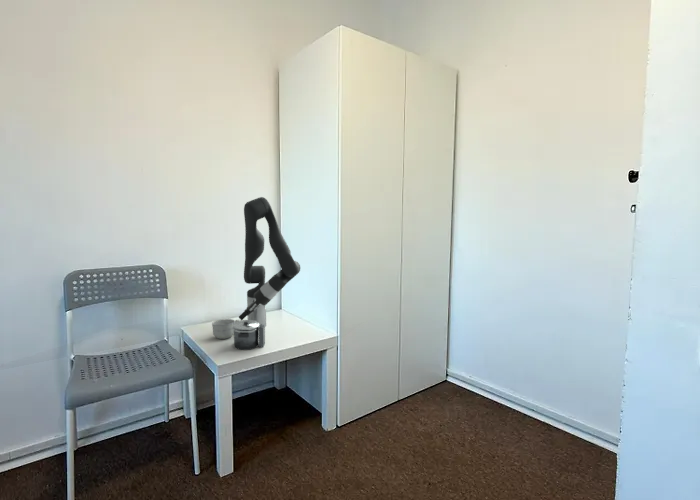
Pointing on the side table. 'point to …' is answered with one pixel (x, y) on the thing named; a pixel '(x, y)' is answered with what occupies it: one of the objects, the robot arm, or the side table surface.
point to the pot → (249, 338)
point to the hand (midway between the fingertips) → (240, 318)
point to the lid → (246, 325)
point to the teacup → (223, 328)
